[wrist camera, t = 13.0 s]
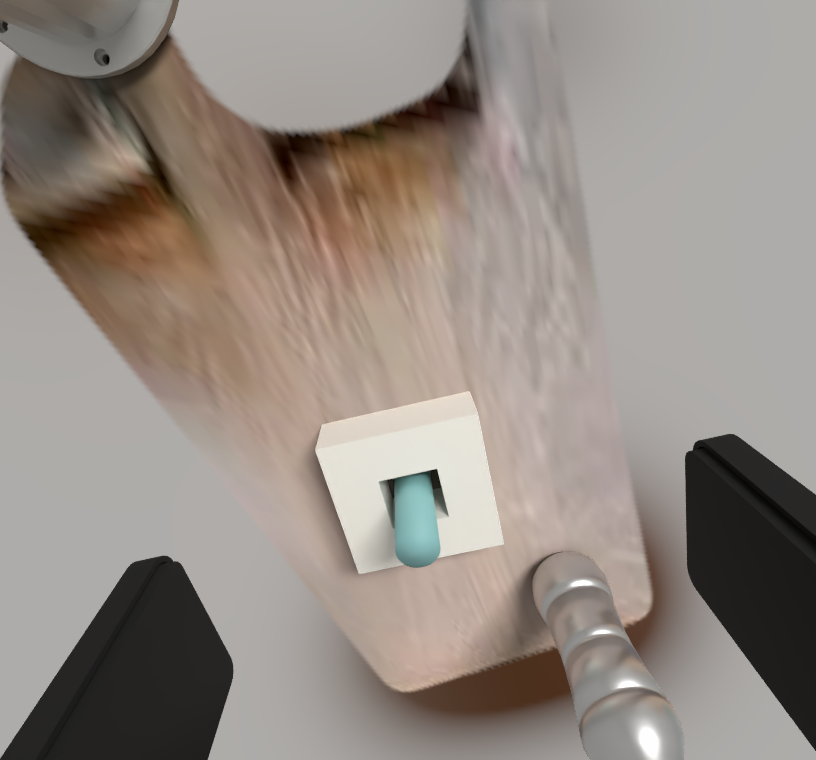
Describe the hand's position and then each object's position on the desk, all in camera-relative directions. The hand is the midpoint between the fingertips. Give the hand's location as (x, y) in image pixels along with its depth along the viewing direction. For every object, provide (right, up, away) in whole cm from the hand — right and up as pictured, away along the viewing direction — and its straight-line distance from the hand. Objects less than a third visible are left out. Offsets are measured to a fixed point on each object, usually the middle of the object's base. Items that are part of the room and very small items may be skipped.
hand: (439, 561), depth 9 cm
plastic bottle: (+14, -14, +37) cm, 42 cm away
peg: (0, -4, +32) cm, 33 cm away
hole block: (0, -4, +32) cm, 33 cm away
